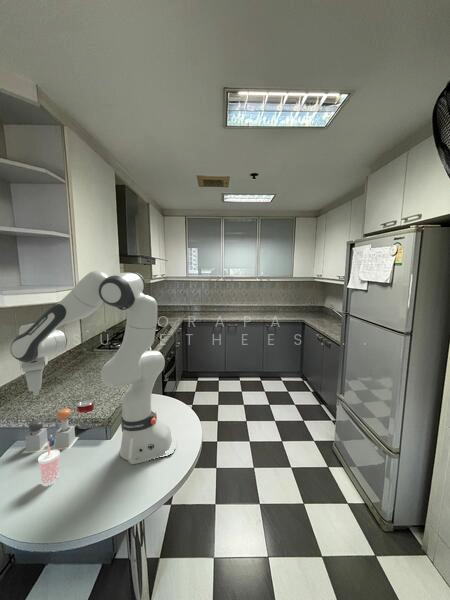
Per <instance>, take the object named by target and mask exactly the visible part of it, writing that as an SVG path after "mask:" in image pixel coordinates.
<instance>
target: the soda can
mask: <svg viewBox="0 0 450 600" xmlns="http://www.w3.org/2000/svg"><path fill="white" fill-rule="evenodd" d="M93 409H94V410H95V401H94V400H92V399H86V400H83V401H80V402H78V403H77V404H76V414H77V413H81V414H82V413H87V412H90V411H92V410H93Z"/></svg>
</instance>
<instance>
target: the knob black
mask: <svg viewBox="0 0 450 600" xmlns="http://www.w3.org/2000/svg"><path fill="white" fill-rule="evenodd" d="M43 423H44V421H43V420H42V419H37V420H33V421H31V422H30V423H28V431H29V433H30V432H32V435H33V434H39V433H40V429H42V428H44V424H43Z"/></svg>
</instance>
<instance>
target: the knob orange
mask: <svg viewBox="0 0 450 600" xmlns="http://www.w3.org/2000/svg"><path fill="white" fill-rule="evenodd" d="M56 416H57V420H58V421H59V420H60V428H61V432H66V431H68V430H69V427H68V426H69V418H70V417H71V409H70V408H62V409H59V410H58V411H57V413H56Z"/></svg>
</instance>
